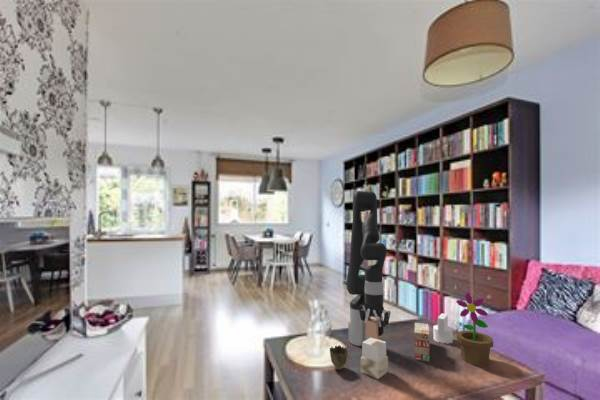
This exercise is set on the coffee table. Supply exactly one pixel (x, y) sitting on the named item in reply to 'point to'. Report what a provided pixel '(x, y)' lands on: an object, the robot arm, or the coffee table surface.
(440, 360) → the coffee table surface
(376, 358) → the cream middle block
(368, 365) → the maple base block
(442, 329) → the cylinder with rectangular tab
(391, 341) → the coffee table surface
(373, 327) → the tan block
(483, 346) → the flowerpot
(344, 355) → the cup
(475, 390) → the coffee table surface
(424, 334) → the stack of blocks
